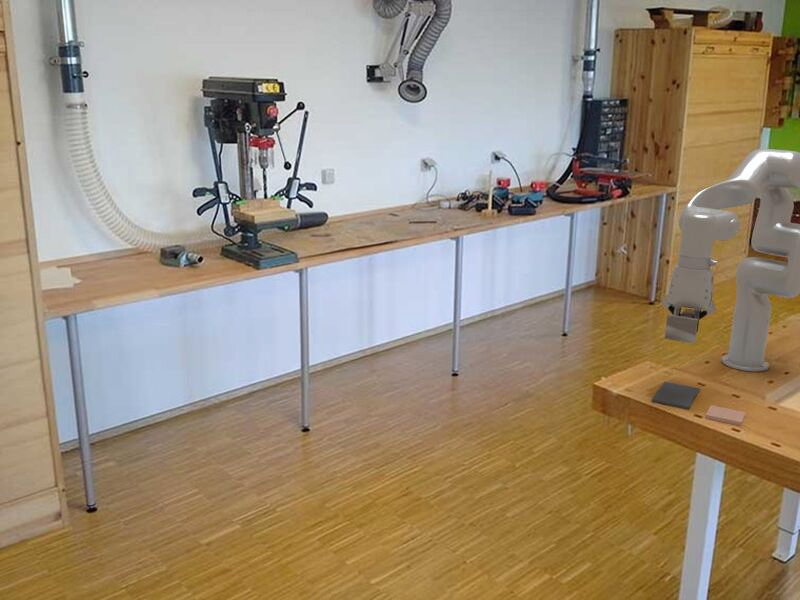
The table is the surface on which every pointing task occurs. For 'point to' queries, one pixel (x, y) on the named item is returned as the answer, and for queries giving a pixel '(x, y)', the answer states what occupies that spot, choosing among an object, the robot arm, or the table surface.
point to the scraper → (682, 327)
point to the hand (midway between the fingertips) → (685, 332)
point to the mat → (676, 395)
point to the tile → (725, 415)
